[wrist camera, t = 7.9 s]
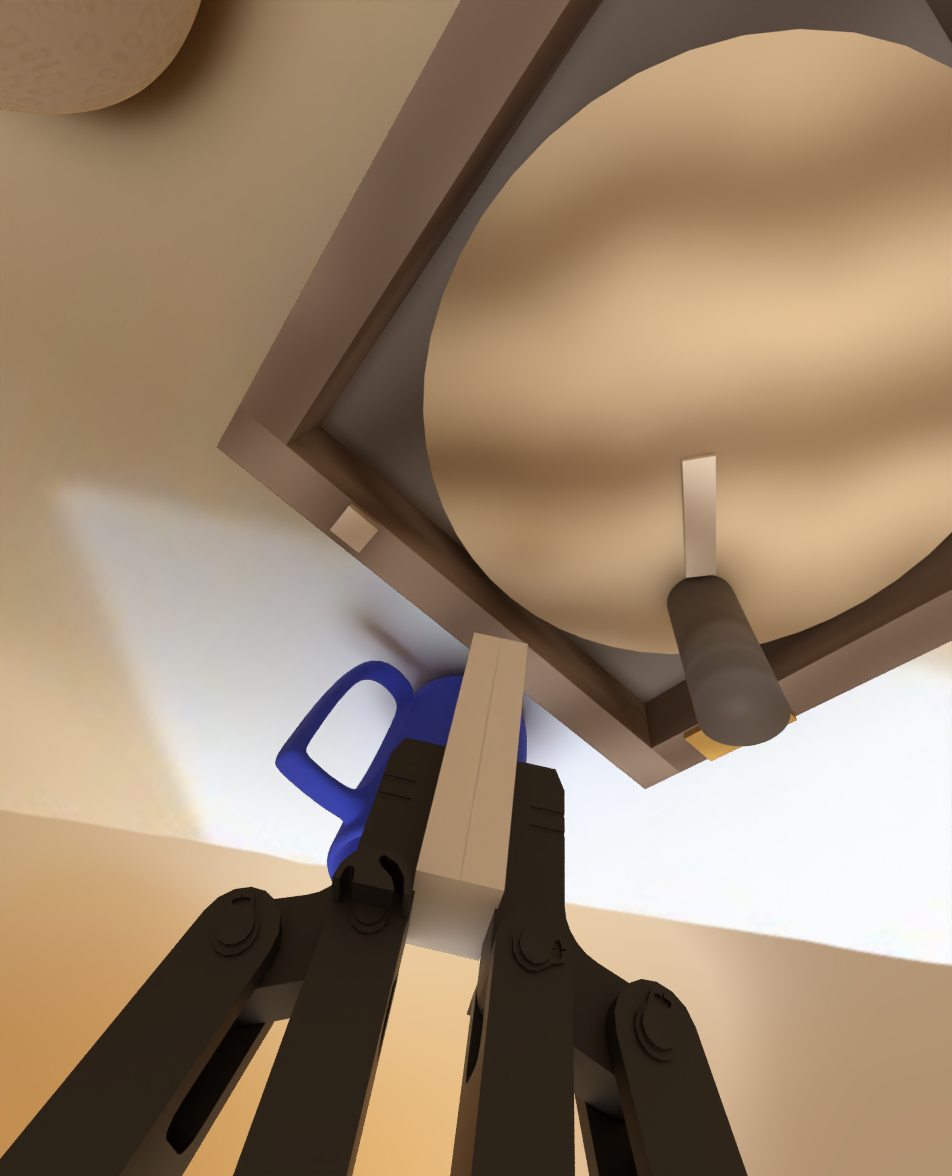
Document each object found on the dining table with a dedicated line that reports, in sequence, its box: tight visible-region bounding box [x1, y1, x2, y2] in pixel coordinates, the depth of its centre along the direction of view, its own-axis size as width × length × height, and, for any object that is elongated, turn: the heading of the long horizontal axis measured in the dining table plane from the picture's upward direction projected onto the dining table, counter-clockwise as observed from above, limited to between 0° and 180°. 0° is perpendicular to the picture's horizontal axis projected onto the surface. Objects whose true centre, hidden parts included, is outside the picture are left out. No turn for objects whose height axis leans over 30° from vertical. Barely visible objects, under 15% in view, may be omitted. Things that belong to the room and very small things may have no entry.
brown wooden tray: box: [217, 0, 952, 789], centre depth 17 cm, size 24×24×4 cm
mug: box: [275, 661, 527, 880], centre depth 24 cm, size 8×12×10 cm
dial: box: [423, 29, 952, 746], centre depth 15 cm, size 18×18×8 cm
